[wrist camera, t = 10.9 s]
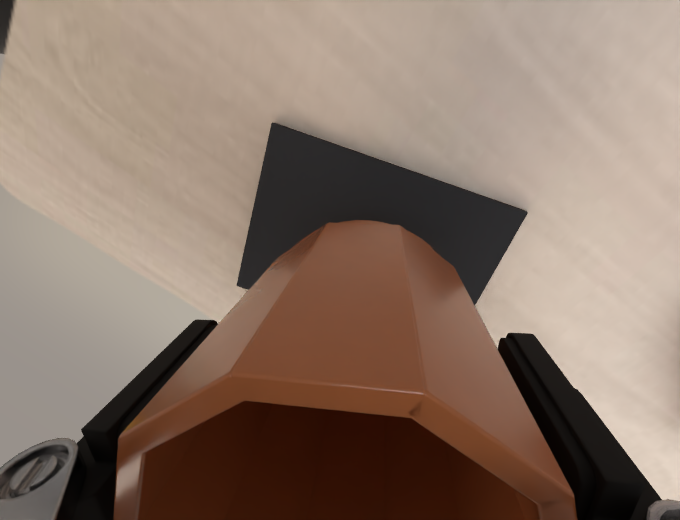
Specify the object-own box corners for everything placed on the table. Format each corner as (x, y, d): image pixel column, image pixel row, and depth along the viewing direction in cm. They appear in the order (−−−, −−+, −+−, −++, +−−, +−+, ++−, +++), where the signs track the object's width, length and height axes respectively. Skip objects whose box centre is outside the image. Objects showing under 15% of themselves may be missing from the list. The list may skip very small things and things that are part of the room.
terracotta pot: (254, 354, 14) (106, 599, 7) (299, 186, 11) (125, 286, 4) (411, 410, 14) (442, 719, 7) (498, 256, 11) (729, 500, 4)
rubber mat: (239, 282, 21) (236, 285, 20) (274, 122, 17) (271, 122, 16) (443, 353, 21) (444, 358, 20) (524, 210, 17) (528, 212, 16)
